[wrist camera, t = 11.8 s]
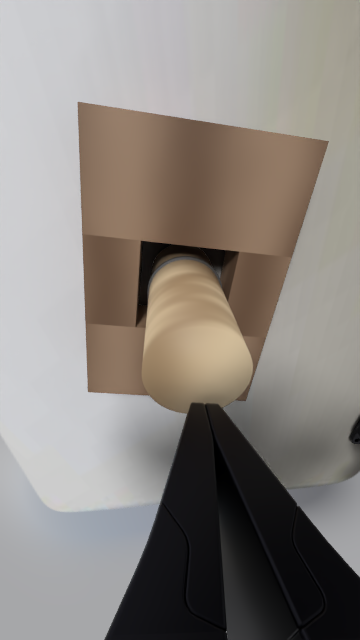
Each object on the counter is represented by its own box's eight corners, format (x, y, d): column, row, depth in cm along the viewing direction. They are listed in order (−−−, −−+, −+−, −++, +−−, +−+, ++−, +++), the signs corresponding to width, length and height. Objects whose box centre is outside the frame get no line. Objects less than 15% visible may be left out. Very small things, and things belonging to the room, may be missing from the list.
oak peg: (219, 245, 18) (269, 329, 10) (207, 305, 21) (240, 418, 12) (152, 237, 18) (142, 318, 9) (147, 299, 20) (135, 412, 11)
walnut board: (301, 142, 16) (328, 141, 13) (236, 373, 24) (245, 400, 21) (92, 110, 15) (77, 101, 12) (96, 364, 23) (87, 392, 20)
